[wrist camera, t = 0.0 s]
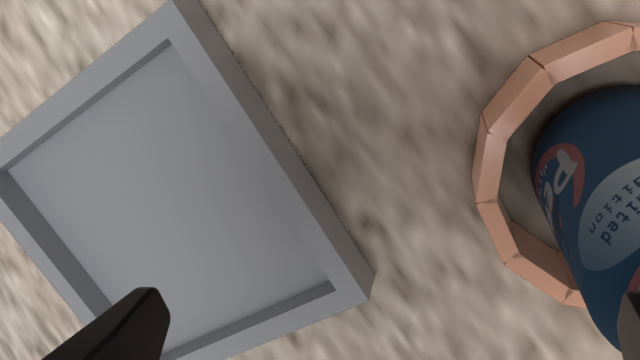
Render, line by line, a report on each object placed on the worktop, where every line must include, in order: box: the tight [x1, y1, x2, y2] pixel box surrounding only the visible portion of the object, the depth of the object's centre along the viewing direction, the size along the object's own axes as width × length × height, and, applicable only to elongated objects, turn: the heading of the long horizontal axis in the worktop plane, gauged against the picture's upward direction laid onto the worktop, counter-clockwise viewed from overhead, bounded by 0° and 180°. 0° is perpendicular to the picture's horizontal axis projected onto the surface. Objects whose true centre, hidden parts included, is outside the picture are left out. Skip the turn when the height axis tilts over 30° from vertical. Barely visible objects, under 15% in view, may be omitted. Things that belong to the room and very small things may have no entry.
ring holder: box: [472, 21, 640, 308], centre depth 21 cm, size 12×12×4 cm
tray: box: [0, 0, 375, 360], centre depth 28 cm, size 17×17×2 cm
